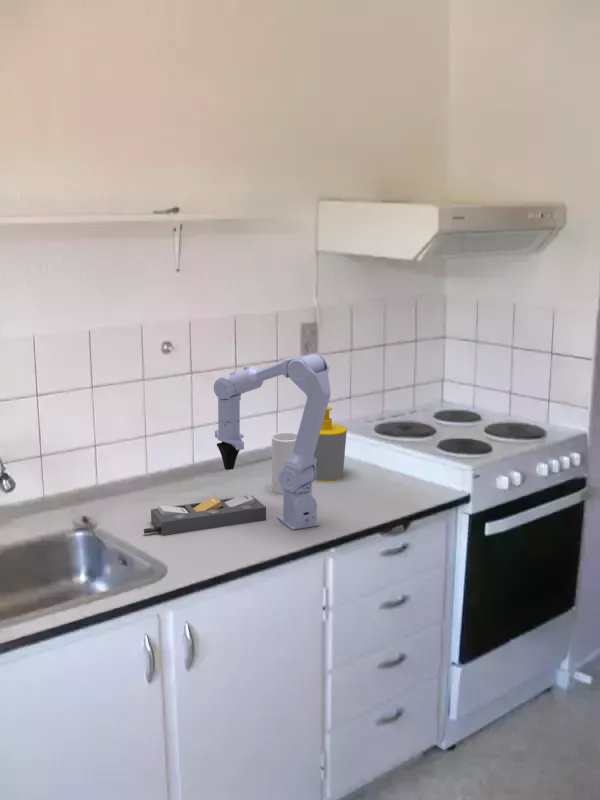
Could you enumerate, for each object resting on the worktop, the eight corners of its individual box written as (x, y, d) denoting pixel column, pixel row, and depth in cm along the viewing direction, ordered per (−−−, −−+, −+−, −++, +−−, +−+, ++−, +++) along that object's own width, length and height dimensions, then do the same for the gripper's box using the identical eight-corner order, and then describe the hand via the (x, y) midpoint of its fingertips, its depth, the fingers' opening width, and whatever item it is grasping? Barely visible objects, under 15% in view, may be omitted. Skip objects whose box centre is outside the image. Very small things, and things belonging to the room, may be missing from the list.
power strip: (266, 519, 234) (266, 506, 233) (146, 537, 221) (146, 523, 220) (251, 507, 243) (251, 494, 242) (135, 524, 230) (135, 510, 229)
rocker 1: (188, 519, 229) (189, 513, 229) (162, 516, 226) (164, 510, 226) (182, 512, 233) (184, 507, 233) (157, 510, 230) (158, 504, 230)
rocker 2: (255, 503, 236) (253, 498, 236) (231, 512, 234) (229, 507, 234) (248, 497, 241) (247, 492, 240) (224, 507, 238) (223, 502, 238)
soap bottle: (300, 469, 277) (301, 402, 272) (342, 468, 279) (343, 402, 274) (305, 482, 265) (306, 412, 260) (349, 481, 266) (351, 412, 261)
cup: (292, 496, 253) (292, 442, 248) (267, 491, 256) (266, 438, 252) (305, 486, 260) (305, 434, 255) (280, 482, 263) (279, 430, 259)
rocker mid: (222, 505, 232) (220, 501, 232) (199, 519, 230) (197, 514, 230) (216, 499, 237) (214, 495, 236) (193, 513, 235) (191, 508, 234)
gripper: (254, 424, 235) (254, 474, 238) (231, 412, 247) (231, 460, 250) (229, 427, 231) (230, 478, 234) (207, 415, 244) (208, 463, 247)
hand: (229, 469), depth 242 cm, fingers closed
